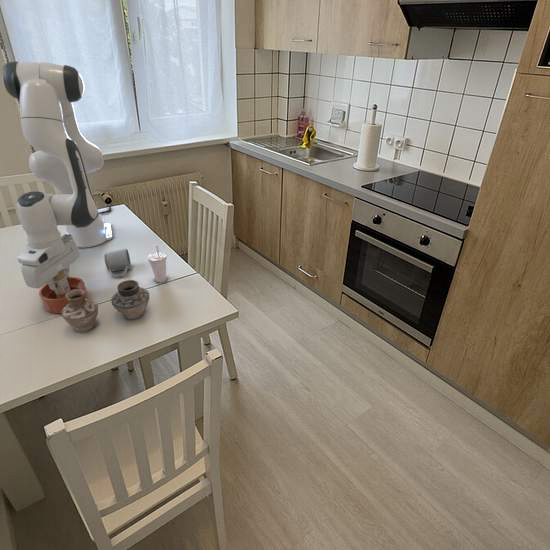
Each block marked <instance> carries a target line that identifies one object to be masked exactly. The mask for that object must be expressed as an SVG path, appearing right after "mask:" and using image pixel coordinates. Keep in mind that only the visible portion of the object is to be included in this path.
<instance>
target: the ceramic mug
mask: <svg viewBox="0 0 550 550" xmlns="http://www.w3.org/2000/svg"><path fill="white" fill-rule="evenodd" d="M103 257H104V258H103V259H104V265H105V267H106V270H107V271H109V273H110V275H111V276H112V277H113V278H115V279H119V278H123V277H125V276H126V274H127V273H128V270H131V269H132V263H131V256H130V253H129V250H128V248H120V249H116V250H112V251H111V250H110V251H107V252H105V253H104V255H103ZM116 271H123V272H122V273H120V274H115V273H113V272H116Z"/></svg>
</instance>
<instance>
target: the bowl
mask: <svg viewBox="0 0 550 550" xmlns="http://www.w3.org/2000/svg"><path fill="white" fill-rule="evenodd" d="M67 281H68V284H69V287H70V291H71V290H75V289H81V290H83V291H84V296H85V299H89V294H88V290H87V287H86V283H85V281H84V280H83V279H82V278H79V277H76V276H70V278H69V279H68V280H67ZM38 295H39V298H40V300H41V303H42V306H43V308H44V309H45V311H46V312H49V313H54V314H60V313H61V314H62V310H63V308H64V307H65V306H66V305H67V304H69V301H68V300H67V299H66V297H64V298H60V299H58V298H57V295H56V293H55V290H51V289H50V287H49V285H48V284H44V285H43V286H42V287H41V288H39V293H38Z"/></svg>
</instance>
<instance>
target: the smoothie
mask: <svg viewBox="0 0 550 550" xmlns="http://www.w3.org/2000/svg"><path fill="white" fill-rule="evenodd" d="M155 249H156V251H155V252H152V253H150V254H149V255H148V256H147V261H148V262H149V265H150V267H151V270H152V273H153V276H154V279H155V282H156V283H164V282H165V281H167V259H168V255H167V253H166V252H163V251H159V246H158V244H155Z"/></svg>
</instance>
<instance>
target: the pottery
mask: <svg viewBox="0 0 550 550" xmlns="http://www.w3.org/2000/svg"><path fill="white" fill-rule="evenodd" d="M116 289H117V291H116V292H115V293H114V294H113V295H112V297H111V300H110V302H111V305H112V306H113V308H114V309H115V310H116V311H117V312H118V313H120V314H121V315H124V317H125V318H126V319H129V320H133V319H137V318H139V317H142V315H143V314H144V311H145V309H146V308H147V307H148V305H149V303H150V292H149V291H148V290H147V289H146V288H144V287H141V286H140V285H139V282H138V281H137V280H134V279H127V280H123V281H121V282H120V283H118V284H117V286H116ZM65 297H66V299H67V300H68V301H69V304H67V305H66V306H65V307H64V308H63V310H62V313H61V317H62V318H63V319H64V320H65V321H66V323H67V324H68V325H70V326H72V327H73V328H74V329H75V330H76V331H77V332H79V333H80V332H81V333H83V332H87V331H90V330H92V329H93V328H94V327H95V326H96V319H97V317H98V313H99V304H98V302H97V301H95V300H94V299H89V298H88V299H85V296H84V291H83V290H81V289H75V290H71V291H69V292H68V293H66V295H65Z"/></svg>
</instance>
